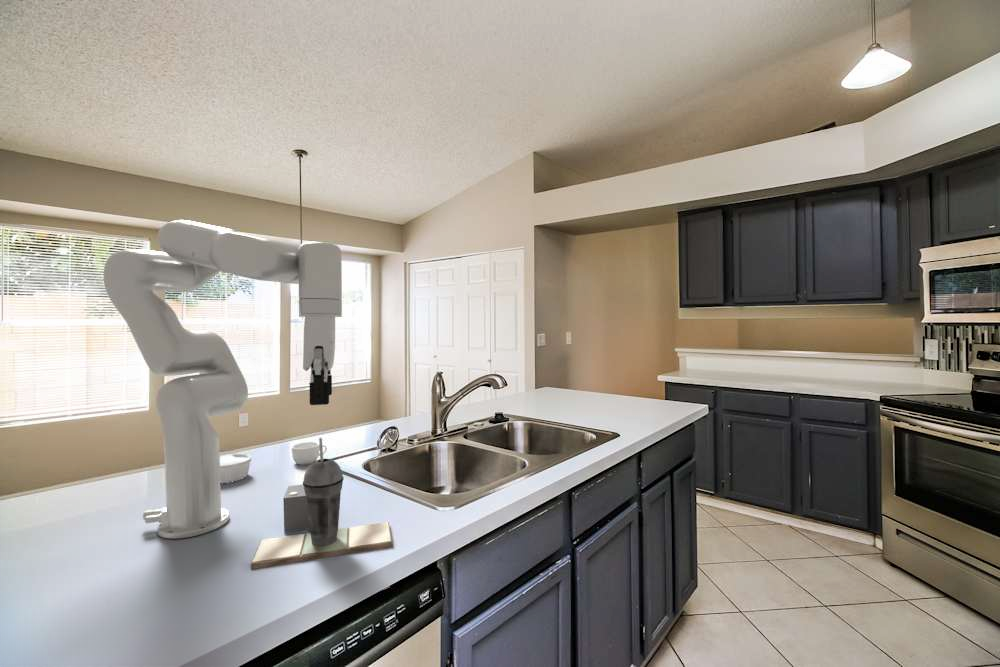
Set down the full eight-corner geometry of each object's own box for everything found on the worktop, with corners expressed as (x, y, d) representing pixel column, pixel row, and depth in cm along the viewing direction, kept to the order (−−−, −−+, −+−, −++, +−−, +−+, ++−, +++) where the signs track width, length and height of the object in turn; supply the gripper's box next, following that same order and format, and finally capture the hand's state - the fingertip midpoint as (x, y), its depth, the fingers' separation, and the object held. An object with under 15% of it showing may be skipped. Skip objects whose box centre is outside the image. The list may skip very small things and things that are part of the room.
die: (284, 532, 92) (283, 497, 92) (289, 517, 98) (288, 485, 98) (321, 527, 94) (320, 493, 94) (323, 513, 101) (322, 481, 100)
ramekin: (260, 473, 128) (260, 455, 127) (228, 487, 117) (227, 467, 117) (228, 470, 130) (227, 452, 130) (193, 484, 119) (192, 464, 119)
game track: (250, 568, 78) (250, 563, 78) (261, 544, 87) (261, 539, 87) (392, 546, 86) (392, 541, 86) (389, 525, 94) (388, 521, 94)
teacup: (294, 468, 131) (294, 450, 131) (289, 461, 137) (289, 444, 137) (330, 462, 137) (329, 444, 137) (323, 455, 143) (323, 439, 143)
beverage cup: (349, 531, 90) (348, 431, 89) (337, 549, 83) (335, 441, 82) (312, 531, 90) (311, 431, 89) (297, 550, 82) (295, 441, 82)
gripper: (304, 309, 92) (304, 393, 93) (292, 308, 75) (293, 409, 76) (343, 310, 94) (343, 391, 95) (340, 308, 78) (340, 407, 78)
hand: (321, 399), depth 85 cm, fingers open, 9 cm apart
